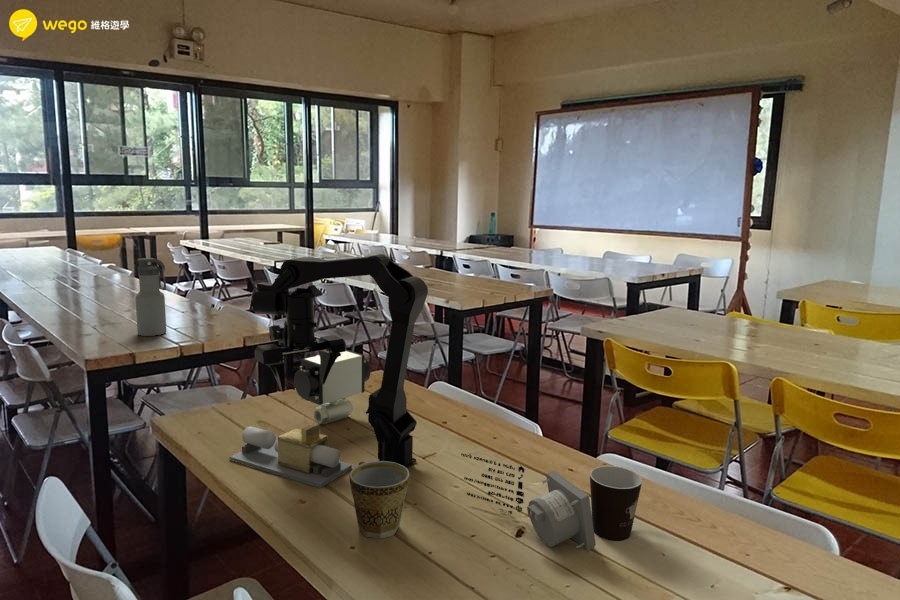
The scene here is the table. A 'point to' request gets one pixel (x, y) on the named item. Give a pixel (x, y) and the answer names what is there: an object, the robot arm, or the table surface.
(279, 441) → the coupling
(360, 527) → the ceramic cup
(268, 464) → the pipe run
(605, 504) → the brown paper cup
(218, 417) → the table surface
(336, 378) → the ball valve
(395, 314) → the robot arm
